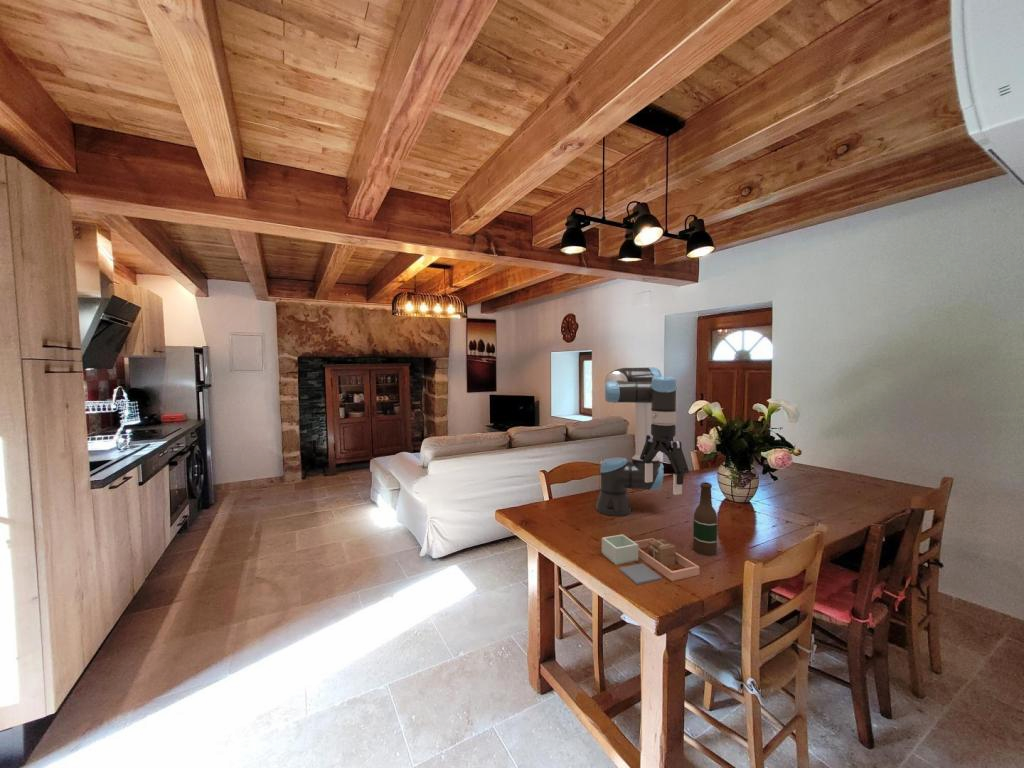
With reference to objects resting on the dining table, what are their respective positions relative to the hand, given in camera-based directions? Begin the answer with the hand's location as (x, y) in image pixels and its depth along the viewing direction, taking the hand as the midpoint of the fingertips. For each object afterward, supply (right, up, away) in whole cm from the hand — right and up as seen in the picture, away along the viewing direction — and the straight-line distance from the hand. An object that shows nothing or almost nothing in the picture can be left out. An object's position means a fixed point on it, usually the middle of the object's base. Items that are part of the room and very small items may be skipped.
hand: (662, 487), depth 127 cm
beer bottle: (+18, -25, +8) cm, 32 cm away
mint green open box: (-13, -25, +4) cm, 28 cm away
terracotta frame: (0, -25, +1) cm, 25 cm away
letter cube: (0, -25, +1) cm, 25 cm away
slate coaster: (-10, -25, -7) cm, 28 cm away
